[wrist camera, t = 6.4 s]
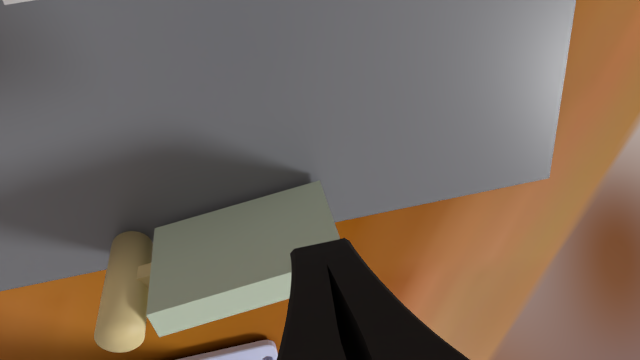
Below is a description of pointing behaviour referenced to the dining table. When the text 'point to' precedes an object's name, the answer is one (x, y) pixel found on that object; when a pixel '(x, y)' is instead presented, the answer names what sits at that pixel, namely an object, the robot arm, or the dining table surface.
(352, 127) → the console
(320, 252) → the robot arm
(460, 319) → the dining table surface
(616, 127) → the dining table surface
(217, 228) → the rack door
